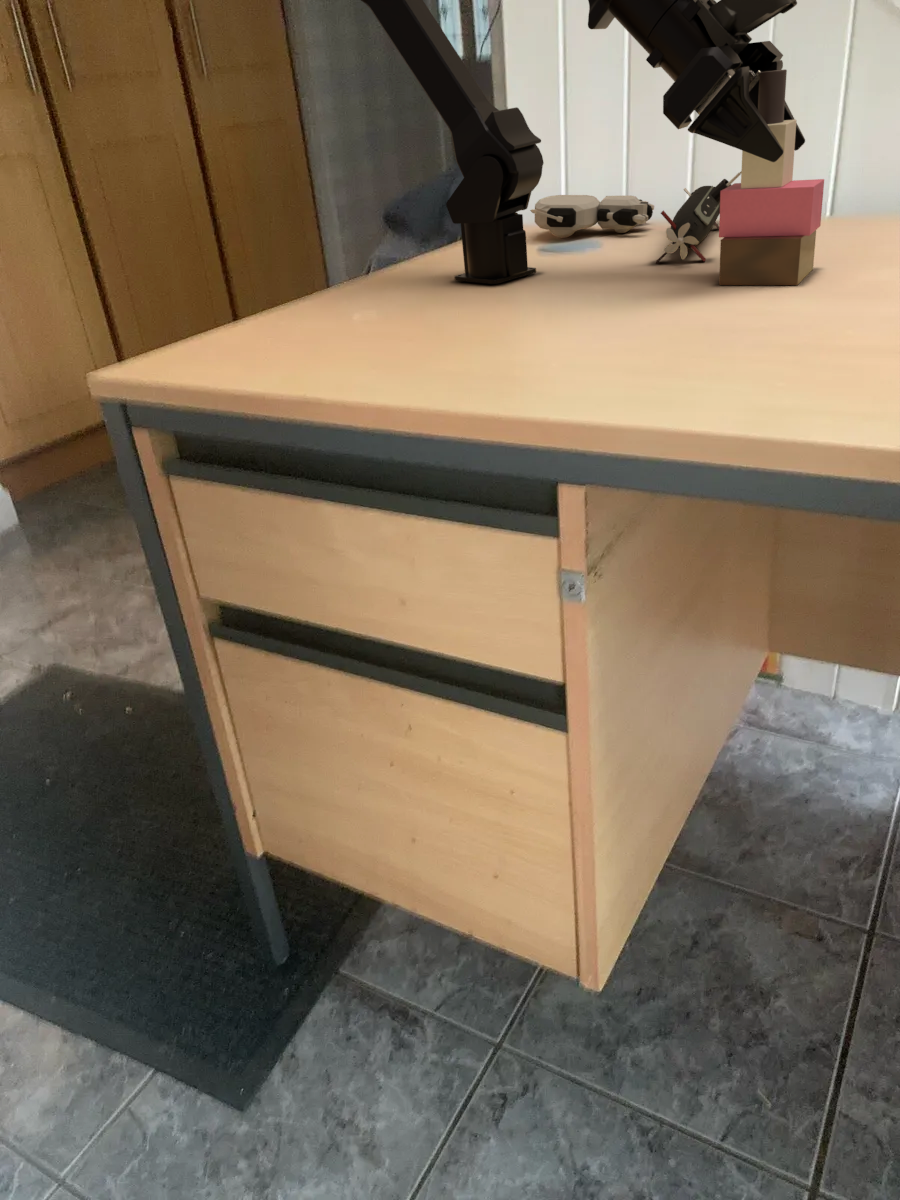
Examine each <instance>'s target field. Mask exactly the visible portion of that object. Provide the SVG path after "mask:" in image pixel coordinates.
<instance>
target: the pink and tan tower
mask: <svg viewBox="0 0 900 1200" xmlns="http://www.w3.org/2000/svg"><path fill="white" fill-rule="evenodd" d="M787 73H788V70H787V69H781V70H774V71H765V72H760V76H759V95H758V111H759V113H760V114H761V116H762V117H763V119H764V120H765V122H766V123H767V125H768V126H769V128H770V129H771V131H772V132H773V134H774V136H775V137H776V139H777V140H778V142H779V144H780V145H781V147H782V149H783V150H784V153H783V155H782V156H781V157H780V158H779V159H778V160H777V161H776V162H771V161H768V160H766V159H763V158H760V157H758V156H755V155H753V154H750V153H748V152H745V151H742V150H741V170H740V172H741V175H740V177H741V178H740V182H735V183H734V182H733V183H732V184H731V186H729V187H727V188H725V189H723V190H721V193H720V214H719V224H718V226H719V229H718V238H724V237H767V236H810V235H811V234H812V233H813V232H814V231H815V230H816V231H817V230H818V229H819V228H820V227H821V225H822V211H823V200H824V199H823V198H824V187H825V179H824V178H817V179H797V180H796V179H795V180H793V176H794V161H795V150H794V149H795V134H796V123H797V119H795V120H784V106H785V101H786V90H787V89H786V88H787Z"/></svg>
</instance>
